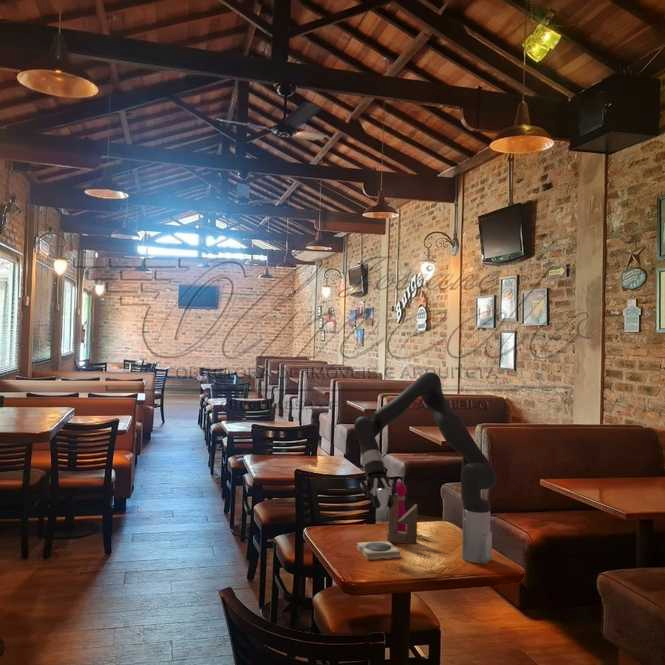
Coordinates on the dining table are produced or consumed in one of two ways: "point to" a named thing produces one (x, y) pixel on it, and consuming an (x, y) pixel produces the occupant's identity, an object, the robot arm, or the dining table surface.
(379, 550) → the rest block
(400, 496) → the pepper mill
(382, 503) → the axle
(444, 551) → the dining table surface
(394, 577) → the dining table surface
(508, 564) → the dining table surface
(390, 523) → the wooden block
